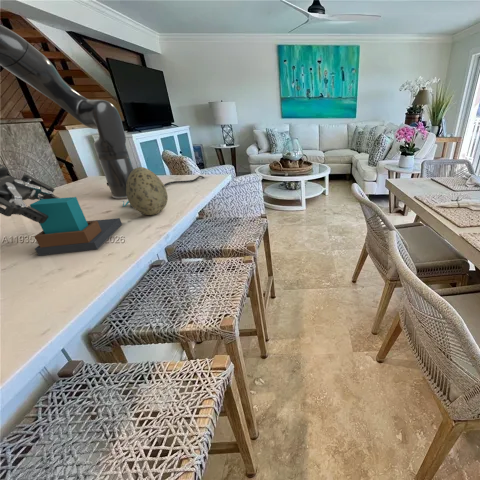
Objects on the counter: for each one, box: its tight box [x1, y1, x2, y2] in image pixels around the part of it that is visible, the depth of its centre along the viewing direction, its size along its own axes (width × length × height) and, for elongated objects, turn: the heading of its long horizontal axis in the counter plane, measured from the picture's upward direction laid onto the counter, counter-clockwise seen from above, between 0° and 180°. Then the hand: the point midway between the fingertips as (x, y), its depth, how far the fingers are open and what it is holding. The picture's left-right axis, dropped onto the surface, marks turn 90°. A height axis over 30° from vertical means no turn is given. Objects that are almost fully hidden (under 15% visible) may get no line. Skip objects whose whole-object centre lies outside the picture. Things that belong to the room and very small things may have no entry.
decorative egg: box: [126, 166, 169, 216], centre depth 83 cm, size 11×11×15 cm
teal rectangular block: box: [29, 196, 88, 234], centre depth 63 cm, size 4×7×10 cm, turn 105°
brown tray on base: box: [33, 217, 123, 257], centre depth 69 cm, size 16×12×5 cm
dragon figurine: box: [121, 200, 131, 207], centre depth 92 cm, size 6×7×8 cm
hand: (57, 213), depth 62 cm, fingers open, 8 cm apart
